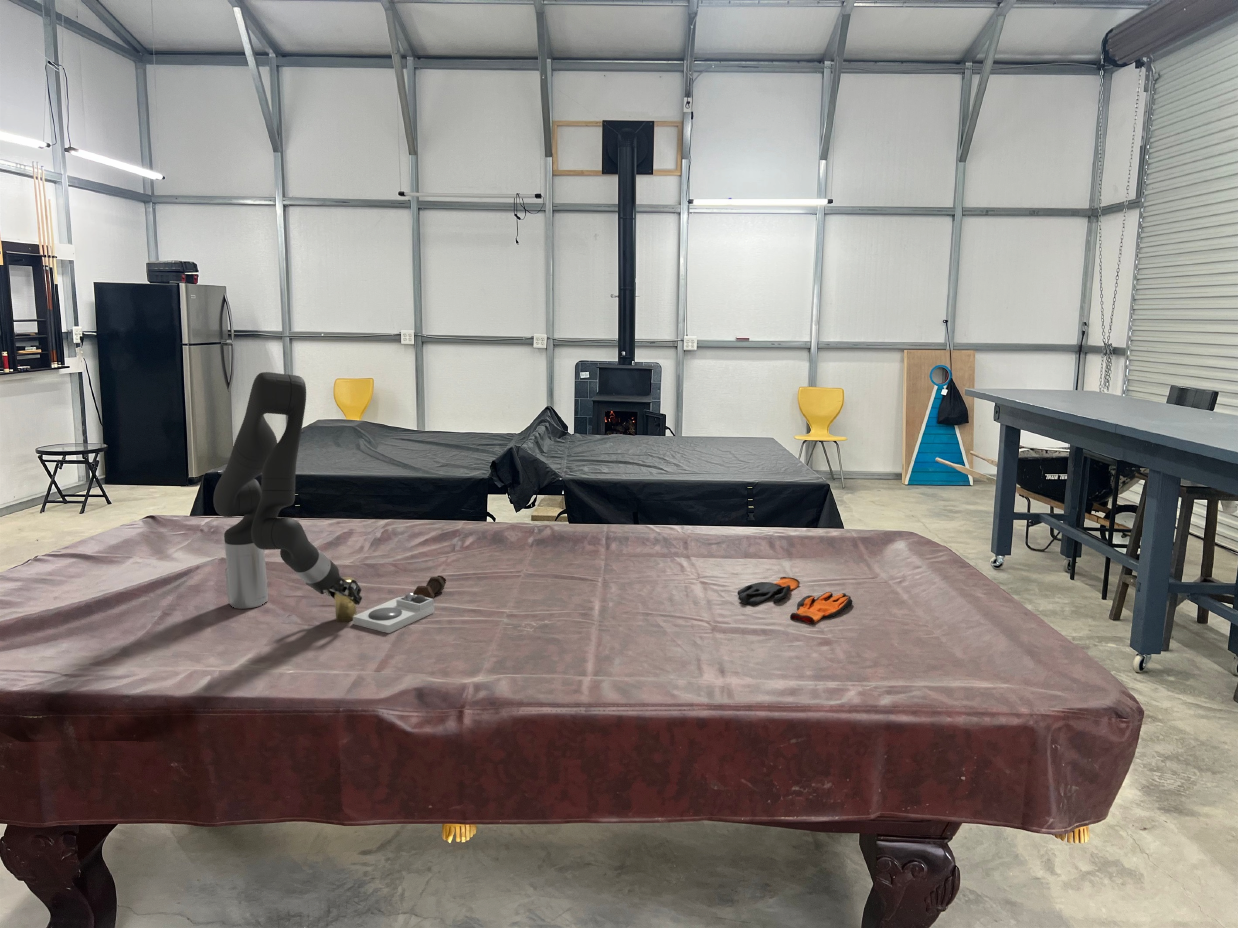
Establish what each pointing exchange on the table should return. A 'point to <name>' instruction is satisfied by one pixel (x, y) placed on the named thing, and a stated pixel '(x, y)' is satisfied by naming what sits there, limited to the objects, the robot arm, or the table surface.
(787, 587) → the pair of gloves
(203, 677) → the table surface
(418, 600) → the rubber ball
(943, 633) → the table surface
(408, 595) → the steel ball
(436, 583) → the bolt
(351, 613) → the ball
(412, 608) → the plate
